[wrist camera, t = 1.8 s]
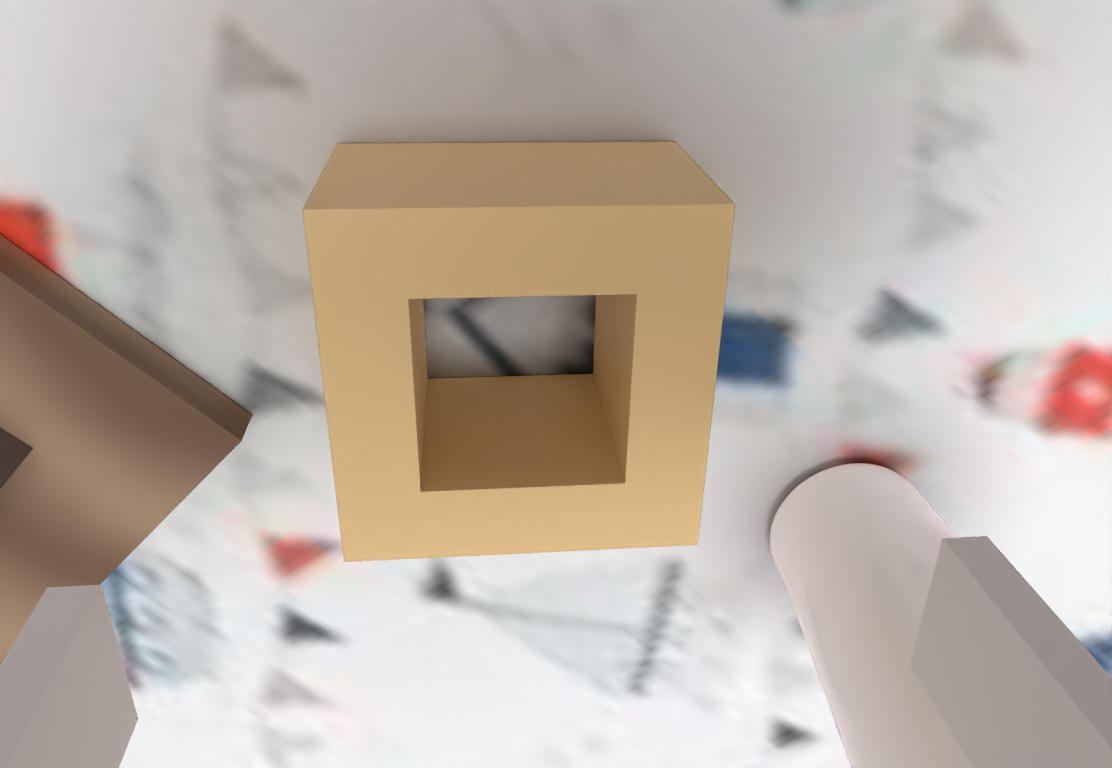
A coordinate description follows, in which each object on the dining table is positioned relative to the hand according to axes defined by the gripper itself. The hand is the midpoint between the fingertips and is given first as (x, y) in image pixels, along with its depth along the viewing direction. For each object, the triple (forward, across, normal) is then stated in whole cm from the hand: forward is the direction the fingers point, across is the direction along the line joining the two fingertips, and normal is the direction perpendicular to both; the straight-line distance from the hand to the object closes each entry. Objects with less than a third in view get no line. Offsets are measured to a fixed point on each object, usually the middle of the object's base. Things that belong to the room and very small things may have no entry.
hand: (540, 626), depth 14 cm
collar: (+13, 0, 0) cm, 13 cm away
